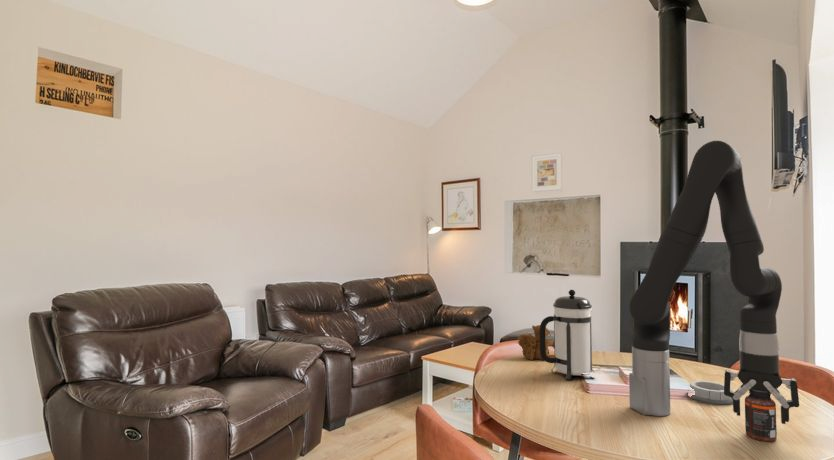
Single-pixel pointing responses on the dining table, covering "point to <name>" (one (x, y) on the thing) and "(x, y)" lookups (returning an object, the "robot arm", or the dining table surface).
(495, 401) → the dining table surface
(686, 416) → the dining table surface
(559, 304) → the coffee press
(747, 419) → the supplement bottle
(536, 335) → the stuffed squirrel
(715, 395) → the bottle socket
